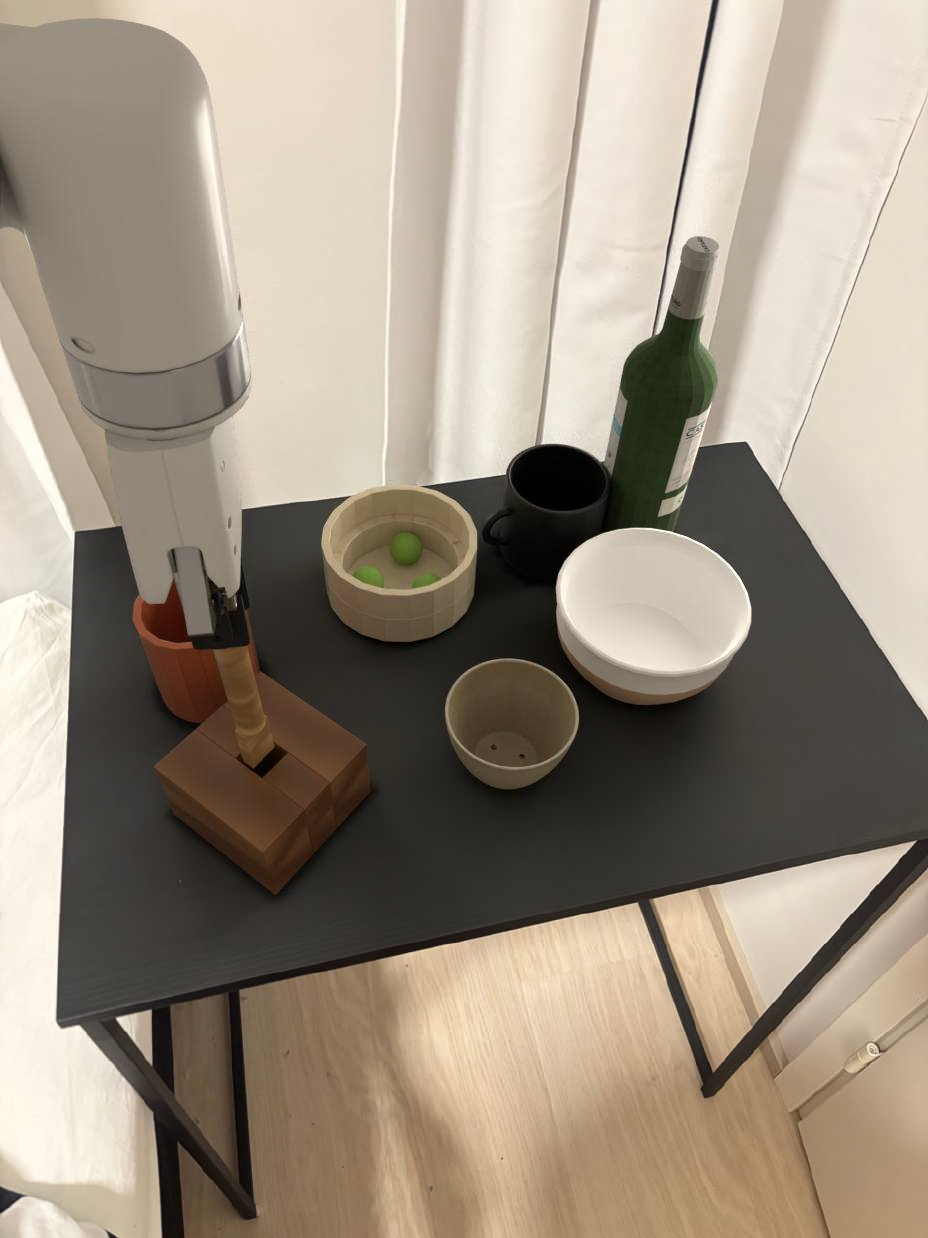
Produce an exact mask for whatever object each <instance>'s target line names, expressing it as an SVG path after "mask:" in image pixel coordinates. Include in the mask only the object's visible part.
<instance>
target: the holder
mask: <svg viewBox="0 0 928 1238" xmlns="http://www.w3.org/2000/svg"><path fill="white" fill-rule="evenodd" d="M255 680H256V684H257V688H258V692H259V696H260V700H261V704H262V708H263V712H264V715H266V716H267V718H268V722H269V726H270V730H271V734H272V738H273V742H274V748H273V749H272V750H271V751H270V752H269V753H268V754H267V755H266V756H265V757H264V758H263V759H262V761H261V762H260V763H259V764H258V765H257V766H256V767H255V768H252V767H251V766H249V765H248V764H246V763H245V762H244V761H243V758H242V755H241V751H240V748H239V745H238V741H237V738H236V735H235V730H236V726H235V722H234V719H233V716H232V712H231V709H230V706H229V702H228V701H227V702H226V703H225V704H224V705H223V706H221V707H220V708H219V709H218V710H217V711H216V712H214V713H213V714H212V715H211V716H210V717H209V718H208V719H207V720H205V721H204V722H203V723H200V724H199V725H198V726H197V727H196V729H194V730H193V731H192V732H191V733H189V735H187V736H186V737H185V738H184V739H182V741H181V742H179V744H178V745H176V746H175V747H174V748H173V749H172V750H170V751H169V753H168V754H166V755H165V756H164V757H163V758H162V759H160V760H159V761H158V762H157V763H156V764H155V765H154V766H153V769H154V771H155V774H156V777H157V780H158V781H159V784H160V785H161V788H162V790H163V793H164V795H165V797H166V799H167V801H168V804H169V806H170V808H171V811H172V813H173V815H174V816H175V817H177V818H178V819H179V820H180V821H182V822H183V823H184V824H185V825H187V826H188V827H189V828H190V829H191V830H193V831H194V832H195V833H197V834H198V835H199V836H200V837H202V838H203V839H204V840H205V841H207V842H208V843H209V844H210V845H211V846H212V847H214V848H216V850H218V851H219V852H220V853H222V854H223V855H224V856H225V857H227V859H229V860H231V861H232V863H234V864H235V865H237V866H238V867H239V868H240V869H242V870H243V871H244V872H245V873H246V874H248V875H249V876H250V877H252V878H253V879H254V880H255V881H257V882H258V883H259V884H261V885H262V886H263V887H264V888H266V890H268V891H269V892H270V893H272V894H273V895H274V896H276V895H278V893H280V891H281V890H282V889H283V888H284V887H285V886H286V884H287V883H289V881H290V880H291V879H292V878H293V877H294V876H295V875H296V874H297V873H298V871H299V870H301V868H303V866H304V865H305V864H306V863H307V862H308V861H309V859H310V858H311V857H312V856H313V855H314V854H316V852H317V851H318V850H319V849H320V847H321V846H322V845H323V844H324V843H325V842H326V841H327V840H328V839H329V838H330V837H331V836H332V835H333V833H335V832H336V830H337V828H339V827H340V826H341V825H342V823H343V822H344V821H345V820H346V819H347V818H348V817H349V816H350V815H351V814H352V813H353V811H354V810H355V809H356V808H357V807H358V806H359V805H360V804H361V803H362V801H363V800H365V798H366V797H367V796H368V795H369V794H370V793H371V782H370V768H369V758H368V757H369V755H368V745H367V743H366V742H364V741H362V740H361V739H360V738H358V737H357V736H355V735H354V734H352V733H351V732H349V730H347V729H345V728H344V727H342V726H341V725H339V724H338V723H336V722H335V721H333V720H332V719H331V718H329V717H328V716H327V715H325V714H323V713H322V712H321V711H319V710H318V709H316V708H315V707H313V706H312V705H310V704H309V703H307V702H306V701H304V700H303V699H301V697H299V696H297V695H296V694H294V693H293V692H291V691H290V690H288V689H287V688H286V687H284V686H283V685H281V684H280V683H278V682H277V681H275V680H274V679H272V678H271V677H270V676H268V675H266V674H265V673H264V672H262V671H260V672H259V673H258V674H257V675H256V676H255Z"/></svg>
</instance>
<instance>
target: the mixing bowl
mask: <svg viewBox="0 0 928 1238" xmlns="http://www.w3.org/2000/svg"><path fill="white" fill-rule="evenodd" d="M402 532H410V533H413V534H414V535H416V536H417V537H418V538H419V539H420V541H421V544H422V553H421V556H420V557H419V559H418V560H417V561H415V562H414V563H412V564H401V563H398V562H397V561H395V560H394V558H393V557H392V555H391V553H390V544H391V541H392V539H393V538H394V537H395V536H396V535H397V534H399V533H402ZM320 546H321V547H320V548H321V554H322V555H321V556H322V564H323V572H324V581H325V589H326V594H327V597H328V600H329V601H328V602H329V605H330V608H331V609H332V610H333V611H334V613H335V614H336V616H337V617H338V618H339V619H340V620H341V622H342V623H343V624H344V625H346V626H347V627H349V628H351V629H352V630H354V631H355V632H357V633H359V634H360V635H362V636H364V637H369V638H372V639H376V640H378V641H383V642H396V643H412V642H415V641H420V640H425V639H429V638H432V637H435V636H438V635H439V634H441V633H442V632H444V631H446V630H448V629H450V628H452V627H453V626H454V625H455V624H456V623H458V621H459V620H460V619H461V618H462V617H463V616H464V615H465V614H466V613H467V612H468V610H469V607H470V605H471V603H472V601H473V598H474V597H475V584H476V569H477V558H478V557H477V555H478V529H477V528H476V526H475V523H474V521H473V519H472V516H471V515H470V514H469V512H468V511H466V509H464V508H463V507H462V505H461V504H459V502H457V501H456V500H454V499H453V498H451V497H449V496H448V495H446V494H444V493H442V492H440V491H437V490H435V489H431V488H428V487H422V486H420V485H414V484H388V485H382V486H376V487H371V488H367V489H365V490H363V491H361V492H359V493H355V494H354V495H351V496H349V497H348V498H347V499H345V500H344V501H342V502H341V503H340V504H339V505H338V506H337V507H335V508H334V510H333V511H331V514H330V515H329V517H328V518H327V520H326V522H325V524H324V525H323V529H322V535H321V541H320ZM362 567H373V568H375V569H377V570H378V571H379V572H380V573H381V575H382V576H383V579H384V587H383V588H380V587H376V586H373V585H369V584H365V583H363V582H361V581H359V580H358V579H356V578H354V577H353V576H352V575H353V574H354V572H355V571H356V570H358V569H359V568H362ZM426 573H431V574H435V575H437V576H438V577H440V578H441V580H439V581H437V582H435V583H433V584H431V585H428V586H423V587H418V588H414V589H412V585H413V583H414V581H415V580H416V578H417V577H419V576H420V575H422V574H426Z"/></svg>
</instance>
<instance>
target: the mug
mask: <svg viewBox="0 0 928 1238" xmlns="http://www.w3.org/2000/svg"><path fill="white" fill-rule="evenodd" d="M610 484H611V483H610V476H609V474H608V471H607V469H606V468H605V466H604V463H603V462H601V460H600V459H599V458H597V457H596V456H595V455H593V454H592V453H590V452H588V451H586V450H584V449H582V448H579V447H576V446H574V445H569V444H564V443H543V444H537V445H533V446H530V447H527V448H526V449H524V450H521V451H520V452H519V453H517V454H516V455H515V456H513V458H511V460H510V462H509V463H508V465H507V468H506V470H505V478H504V491H503V500H502V507H500V508H498V509H496V510H494V511H493V512H492V513H491V514H489V515H488V517H487V518H486V519H485V520H484V522H483V524H482V527H481V537H482V539H483V542H484V543H485V544H487V546H491V547H499V548H500V549H499V550H500V551H501V554H502V556H503V558H504V560H505V561H506V563H507V564H508V565H509V566H510V567H511V568H512V569H513V570H515V571H516V572H518V573H519V574H521V575H523V576H525V577H527V578H530V579H531V580H535V581H542V582H557V579H558V574H559V572H560V570H561V568H562V566H563V564H564V562H565V560H566V559H567V558H568V557H569V556H570V554H571V553H572V552H573V551H574V550H575V549H576V548H578V547H579V546H580V545H582V544H583V543H584V542H586V541H587V540H589V539H591V538H593V537H596V536H598V535H600V534H601V529H602V524H603V520H604V515H605V510H606V506H607V501H608V496H609V492H610ZM499 520H500V530H499V536H494V535H492V533H491V531H492V528H493V526H495V524H496V523H497V522H498V521H499Z"/></svg>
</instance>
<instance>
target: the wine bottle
mask: <svg viewBox="0 0 928 1238" xmlns="http://www.w3.org/2000/svg"><path fill="white" fill-rule="evenodd" d="M720 256H721V252H720V244H719V243H718V242H717V241H716V240H715V239H713V238H712V237H707V236H702V235H697V236H696V235H695V236H691V237H690V238H687V240H686V242H685V244H684V245H683V246H682V249H681V253H680V259H679V261H680V262H679V266H678V269H677V274H676V277H675V280H674V284H673V288H672V292H671V296H670V299H669V303H668V306H667V310H666V313H665V318H664V321H663V324H662V329H661V330H660V331H659V332H658V333H657V334H653V335H652V336H650V337H648V338H647V339H644V340H643V341H641V342H640V343H638V344H637V345H636V346H635V347H634V348H633V349H632V350H631V351H630V353H629V354H628V356H627V357H626V358H625V360H624V364H623V367H622V372H621V377H620V382H619V387H618V391H617V397H616V402H615V405H614V410H613V411H614V412H613V415H612V416H613V417H612V421H611V426H610V432H609V436H608V441H607V447H606V452H605V456H604V460H603V465H604V466H605V468H606V469H607V471H608V474H609V476H610V483H611V484H610V492H609V496H608V501H607V506H606V510H605V515H604V520H603V524H602V529H601V534H603V533H606V532H610V531H614V530H618V529H627V528H652V529H658V530H664V531H670V532H673V533H675V527H676V525H677V522H678V518H679V515H680V511H681V508H682V505H683V502H684V498H685V495H686V492H687V488H688V486H689V485H688V484H689V481H690V479H691V474H692V472H693V468H694V465H695V461H696V457H697V455H698V451H699V448H700V445H701V441H702V438H703V434H704V432H705V429H706V424H707V421H708V418H709V415H710V411H711V408H712V405H713V401H714V399H715V395H716V391H717V388H718V382H719V371H718V366H717V364H716V360H715V358H714V357H713V355H712V354H711V352H710V351H709V349H708V348H707V347H706V346H705V345H704V344H703V343H702V342H701V336H700V335H701V332H702V327H703V324H704V319H705V318H704V317H705V313H706V309H707V305H708V300H709V296H710V292H711V287H712V283H713V278H714V273H715V270H716V268H717V266H718V263H719V259H720Z"/></svg>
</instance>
